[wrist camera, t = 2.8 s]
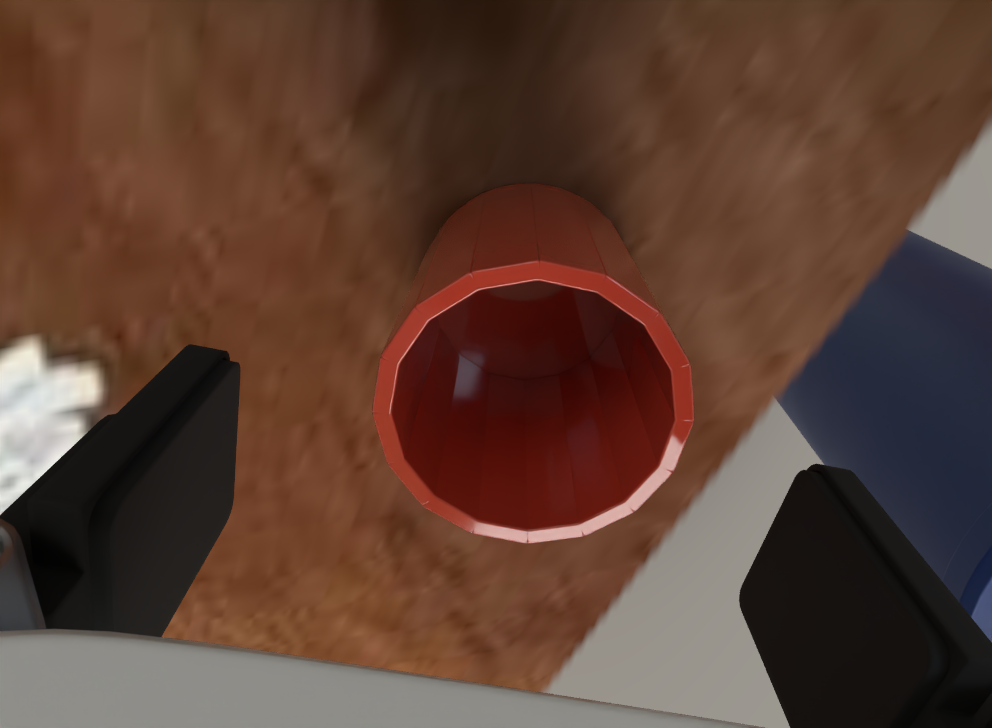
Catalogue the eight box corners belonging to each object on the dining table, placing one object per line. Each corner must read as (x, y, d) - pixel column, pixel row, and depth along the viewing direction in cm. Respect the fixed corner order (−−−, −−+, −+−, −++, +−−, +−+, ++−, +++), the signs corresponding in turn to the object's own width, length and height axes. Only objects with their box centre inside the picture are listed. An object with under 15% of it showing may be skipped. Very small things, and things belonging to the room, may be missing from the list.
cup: (658, 209, 20) (741, 303, 12) (598, 398, 22) (638, 565, 15) (442, 161, 19) (399, 229, 12) (408, 359, 22) (355, 512, 15)
